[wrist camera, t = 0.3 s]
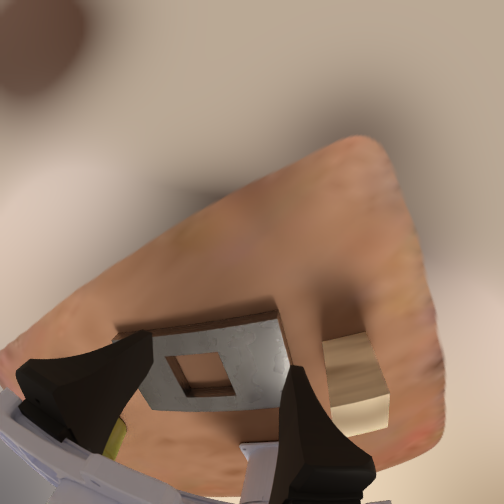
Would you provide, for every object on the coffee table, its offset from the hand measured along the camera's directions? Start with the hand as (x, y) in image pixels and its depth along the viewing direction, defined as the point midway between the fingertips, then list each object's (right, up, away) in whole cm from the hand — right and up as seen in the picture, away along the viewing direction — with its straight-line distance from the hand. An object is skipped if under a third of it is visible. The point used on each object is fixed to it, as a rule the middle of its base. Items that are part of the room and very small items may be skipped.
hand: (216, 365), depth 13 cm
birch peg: (+10, -4, +10) cm, 15 cm away
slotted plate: (-3, -6, +12) cm, 14 cm away
